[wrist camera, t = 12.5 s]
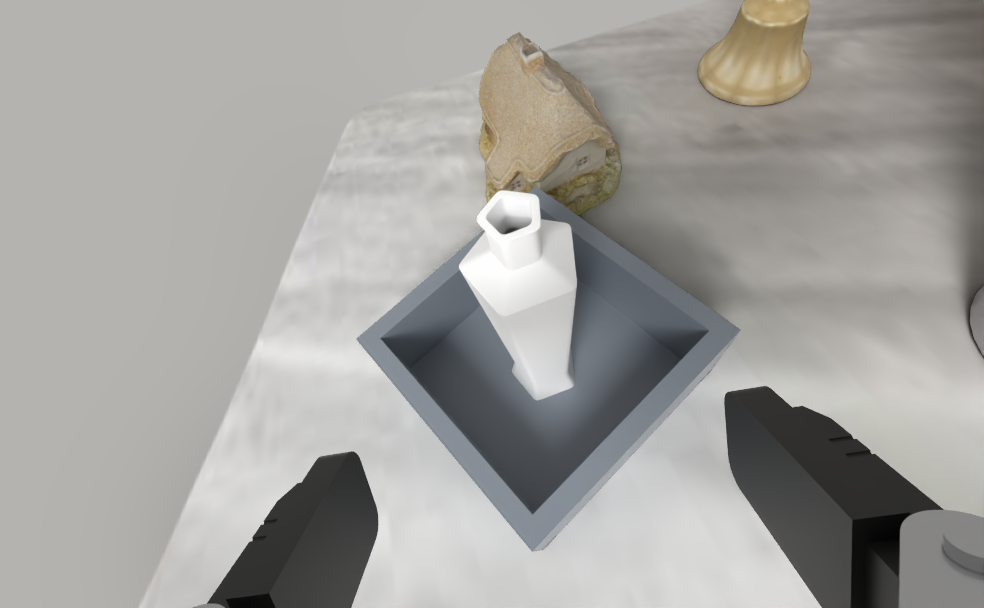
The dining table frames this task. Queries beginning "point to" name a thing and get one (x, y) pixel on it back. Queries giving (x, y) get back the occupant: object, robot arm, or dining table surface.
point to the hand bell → (760, 55)
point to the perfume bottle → (527, 288)
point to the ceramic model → (543, 130)
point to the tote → (563, 416)
